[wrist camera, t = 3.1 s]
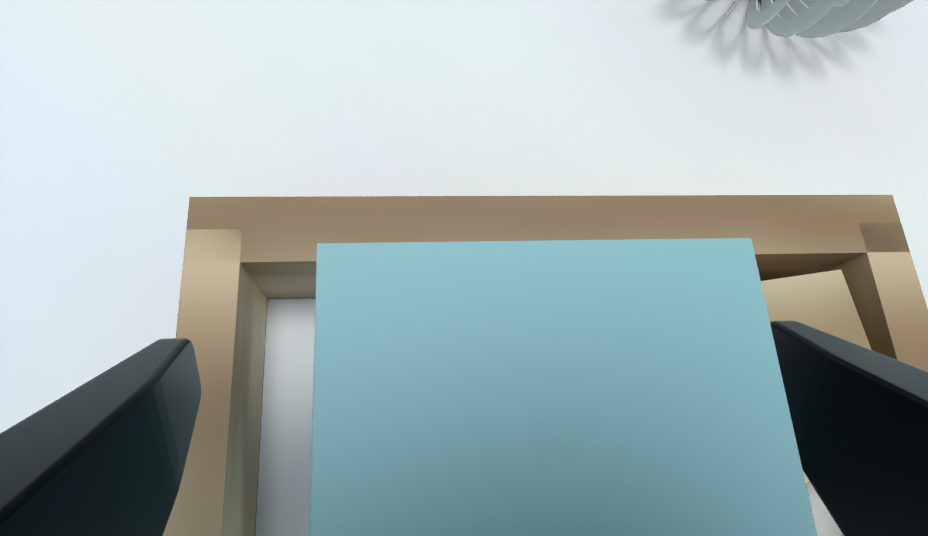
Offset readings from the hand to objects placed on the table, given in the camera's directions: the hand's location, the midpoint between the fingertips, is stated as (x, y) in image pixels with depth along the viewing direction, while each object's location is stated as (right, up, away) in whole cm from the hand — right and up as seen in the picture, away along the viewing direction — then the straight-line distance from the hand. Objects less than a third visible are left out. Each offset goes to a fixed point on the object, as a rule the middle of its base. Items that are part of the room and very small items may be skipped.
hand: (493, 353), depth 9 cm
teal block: (-1, -3, +6) cm, 7 cm away
